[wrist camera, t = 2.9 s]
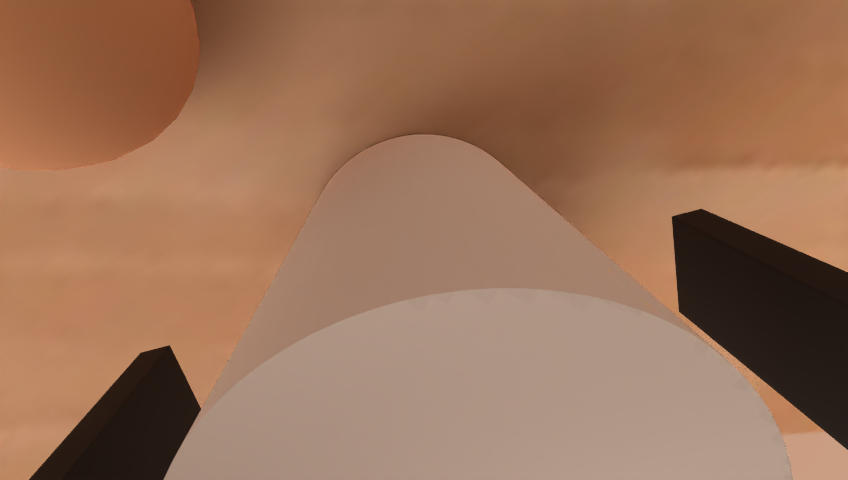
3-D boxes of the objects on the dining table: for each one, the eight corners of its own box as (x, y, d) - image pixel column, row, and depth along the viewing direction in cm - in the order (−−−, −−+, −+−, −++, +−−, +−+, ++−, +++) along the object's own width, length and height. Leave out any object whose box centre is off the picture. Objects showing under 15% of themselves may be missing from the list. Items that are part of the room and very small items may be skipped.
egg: (129, 182, 16) (-114, 289, 8) (-41, 6, 14) (-566, -69, 6) (279, 63, 15) (163, 58, 7) (121, -145, 13) (-263, -446, 5)
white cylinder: (424, 383, 19) (469, 821, 8) (260, 253, 17) (10, 609, 6) (579, 244, 18) (903, 548, 7) (421, 80, 16) (501, 114, 4)
